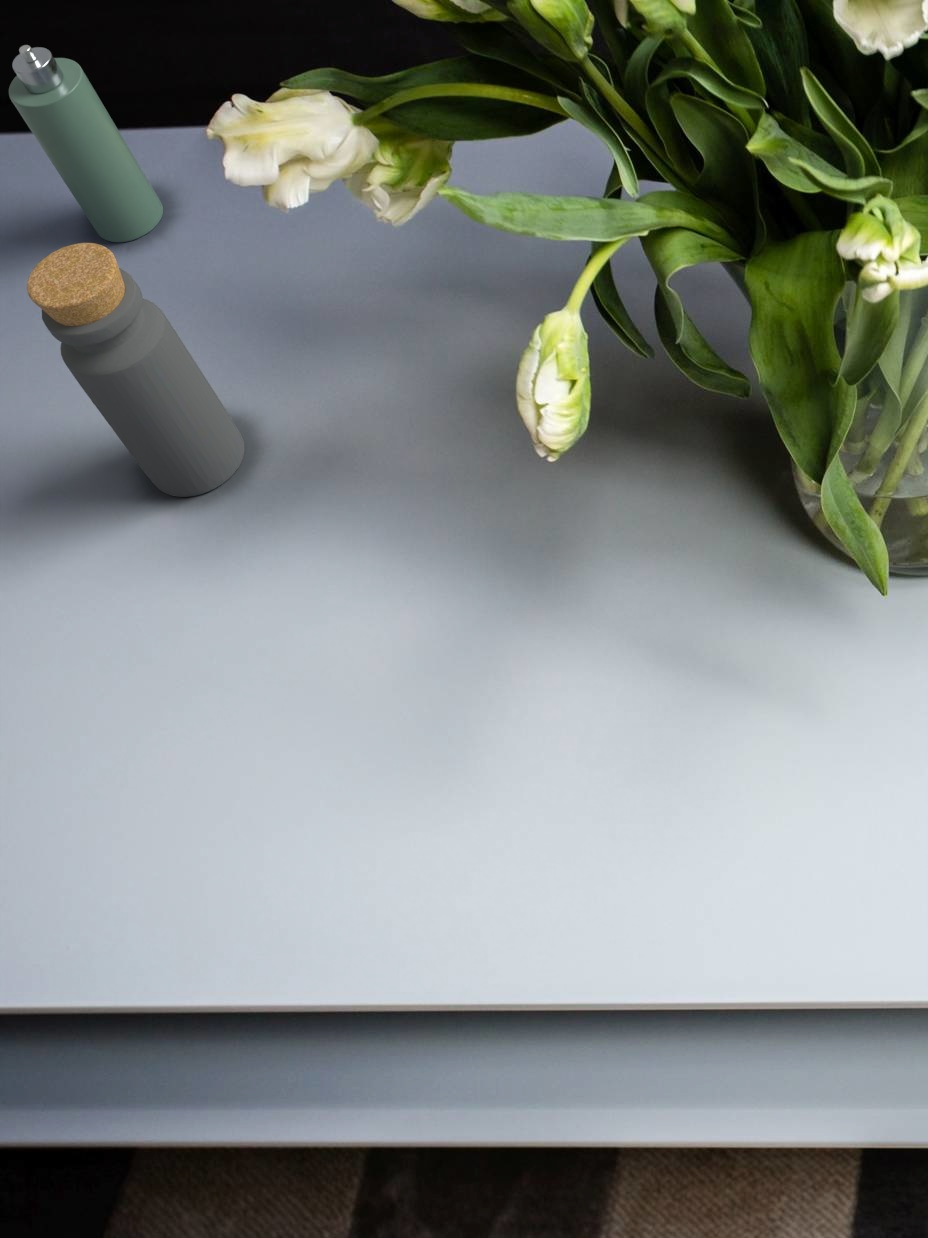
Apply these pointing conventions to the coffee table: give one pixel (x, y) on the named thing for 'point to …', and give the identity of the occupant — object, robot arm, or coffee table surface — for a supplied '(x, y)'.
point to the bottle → (136, 370)
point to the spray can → (84, 145)
